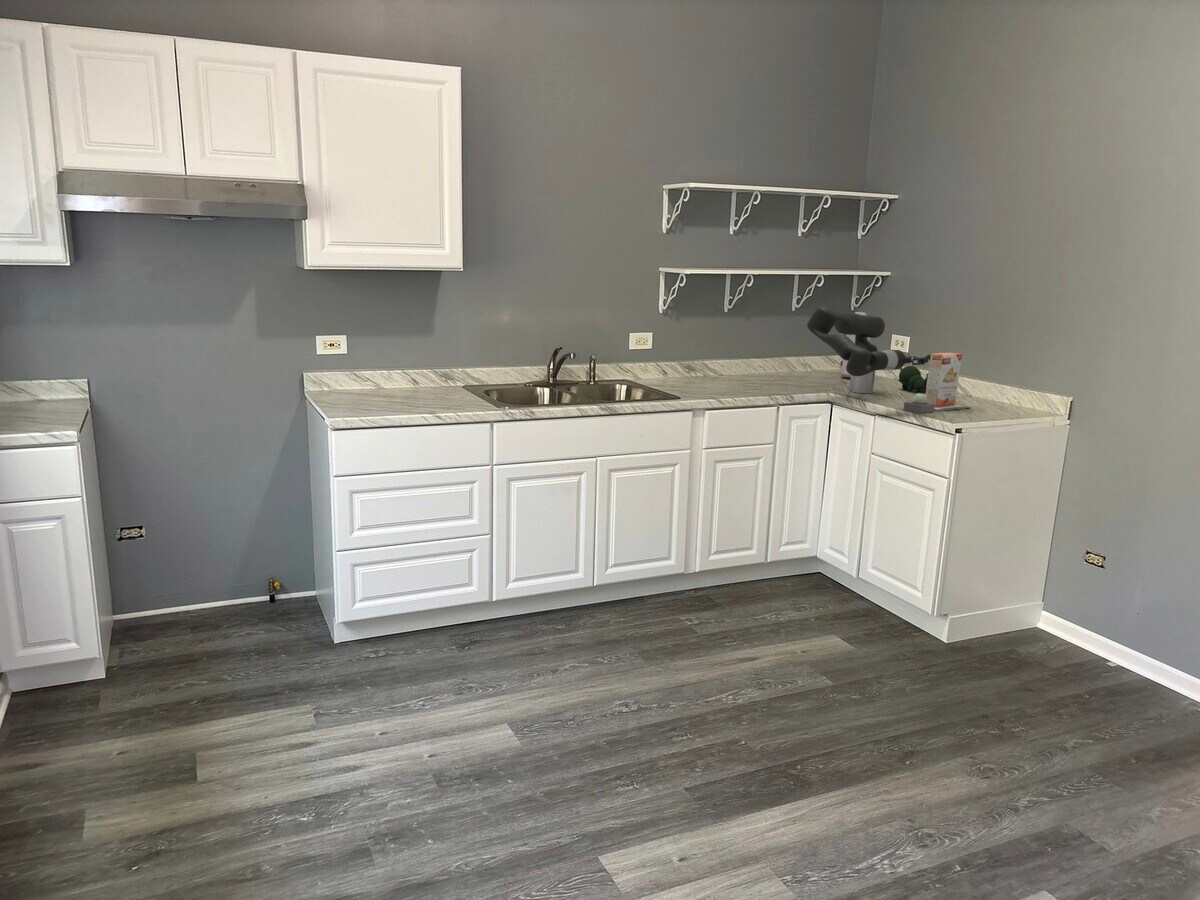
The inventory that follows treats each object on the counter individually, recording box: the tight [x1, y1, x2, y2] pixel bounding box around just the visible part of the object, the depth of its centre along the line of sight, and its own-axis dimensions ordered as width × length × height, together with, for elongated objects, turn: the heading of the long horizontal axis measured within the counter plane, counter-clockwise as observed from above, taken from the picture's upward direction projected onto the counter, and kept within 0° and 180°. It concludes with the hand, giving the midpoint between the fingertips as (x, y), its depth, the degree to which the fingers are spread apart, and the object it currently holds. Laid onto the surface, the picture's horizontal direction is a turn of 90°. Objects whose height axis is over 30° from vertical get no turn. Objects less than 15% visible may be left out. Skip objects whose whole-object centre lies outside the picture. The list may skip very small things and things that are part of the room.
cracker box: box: [924, 352, 963, 407], centre depth 345 cm, size 14×6×21 cm, turn 128°
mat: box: [934, 403, 971, 412], centre depth 347 cm, size 14×20×1 cm
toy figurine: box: [898, 354, 931, 394], centre depth 384 cm, size 9×19×25 cm
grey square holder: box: [903, 400, 935, 414], centre depth 336 cm, size 8×8×3 cm
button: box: [913, 392, 926, 405], centre depth 335 cm, size 4×4×4 cm
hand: (918, 358), depth 334 cm, fingers open, 8 cm apart
